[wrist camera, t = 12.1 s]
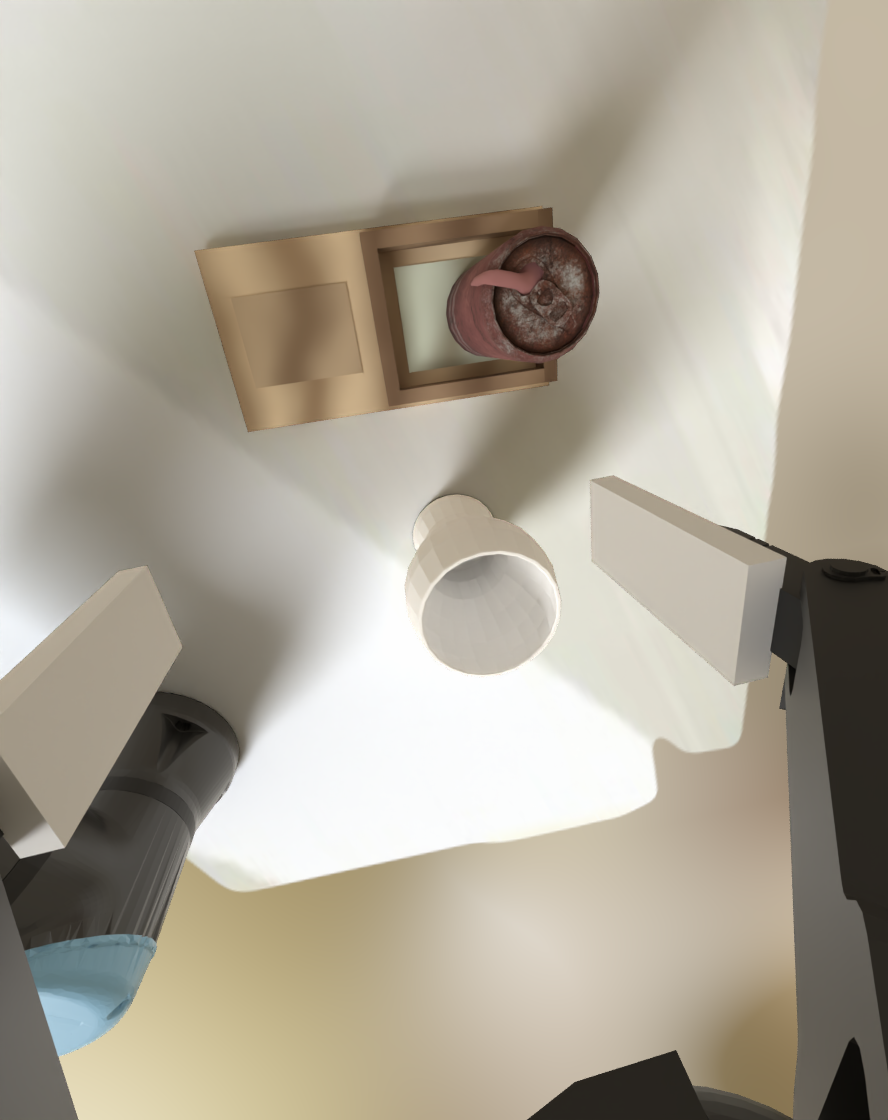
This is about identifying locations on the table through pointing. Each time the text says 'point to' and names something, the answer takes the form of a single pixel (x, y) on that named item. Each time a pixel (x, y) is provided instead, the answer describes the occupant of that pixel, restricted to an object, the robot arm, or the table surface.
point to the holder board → (357, 319)
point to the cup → (479, 589)
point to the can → (526, 298)
